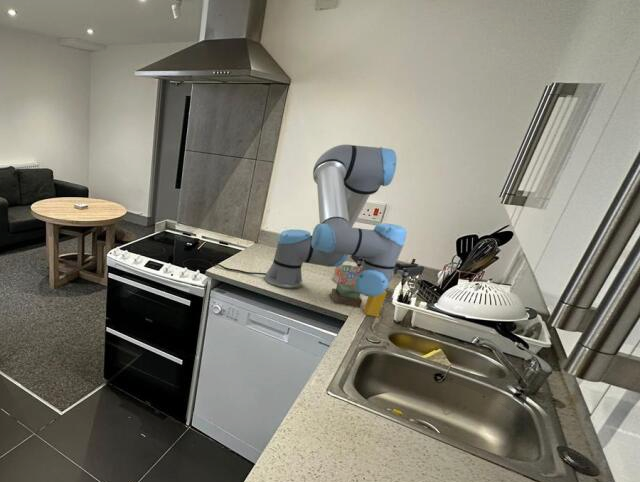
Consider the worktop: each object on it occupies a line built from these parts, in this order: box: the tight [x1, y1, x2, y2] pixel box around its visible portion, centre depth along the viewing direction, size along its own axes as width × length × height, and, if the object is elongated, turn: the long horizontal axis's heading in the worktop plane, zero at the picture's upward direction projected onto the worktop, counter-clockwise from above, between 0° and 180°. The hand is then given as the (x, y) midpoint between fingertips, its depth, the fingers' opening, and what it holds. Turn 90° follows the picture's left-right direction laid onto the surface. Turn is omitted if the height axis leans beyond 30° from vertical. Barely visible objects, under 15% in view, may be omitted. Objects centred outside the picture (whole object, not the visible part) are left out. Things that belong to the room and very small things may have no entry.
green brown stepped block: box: [330, 283, 363, 308], centre depth 158 cm, size 9×9×6 cm
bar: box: [363, 290, 388, 317], centre depth 148 cm, size 4×4×10 cm
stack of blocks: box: [332, 260, 362, 286], centre depth 176 cm, size 21×6×12 cm, turn 84°
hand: (389, 257), depth 133 cm, fingers open, 13 cm apart
